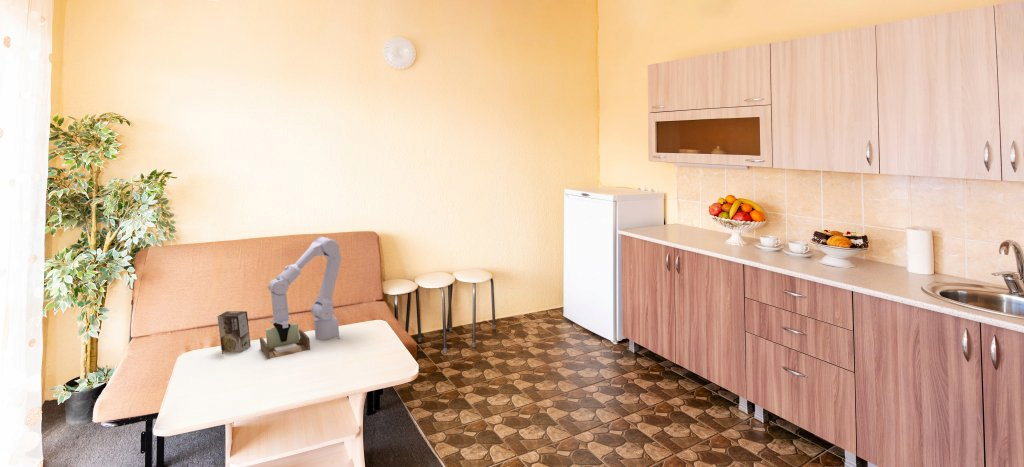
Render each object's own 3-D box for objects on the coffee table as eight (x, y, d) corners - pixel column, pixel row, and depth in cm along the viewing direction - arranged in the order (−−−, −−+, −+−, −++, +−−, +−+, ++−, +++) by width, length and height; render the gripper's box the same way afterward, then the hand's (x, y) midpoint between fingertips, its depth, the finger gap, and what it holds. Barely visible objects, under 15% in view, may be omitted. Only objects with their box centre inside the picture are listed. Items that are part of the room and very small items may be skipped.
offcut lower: (299, 347, 216) (299, 345, 216) (302, 350, 213) (301, 348, 212) (273, 353, 210) (272, 350, 210) (275, 356, 207) (275, 353, 207)
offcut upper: (295, 346, 215) (295, 343, 214) (297, 348, 212) (297, 345, 212) (274, 350, 210) (274, 347, 210) (276, 353, 207) (276, 350, 207)
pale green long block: (298, 341, 221) (296, 322, 220) (299, 342, 220) (297, 324, 218) (267, 347, 214) (265, 329, 213) (268, 349, 213) (266, 330, 211)
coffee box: (251, 348, 219) (248, 311, 216) (242, 354, 212) (238, 316, 210) (230, 348, 220) (226, 310, 217) (221, 354, 213) (216, 315, 211)
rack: (301, 342, 225) (300, 329, 224) (310, 351, 214) (309, 337, 213) (261, 351, 215) (259, 337, 214) (267, 361, 205) (266, 346, 204)
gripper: (265, 306, 218) (268, 337, 220) (273, 314, 206) (276, 347, 208) (283, 302, 222) (286, 333, 224) (292, 311, 210) (295, 343, 212)
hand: (283, 340), depth 217 cm, fingers closed on pale green long block, 2 cm apart
